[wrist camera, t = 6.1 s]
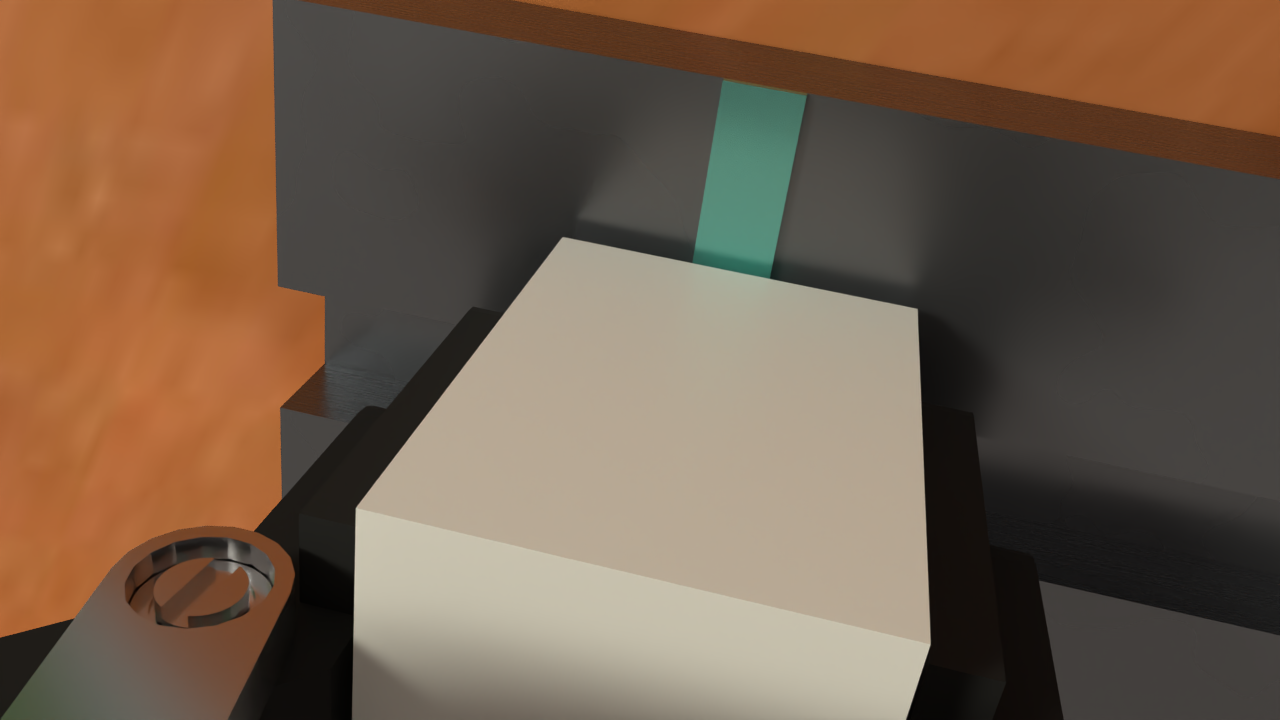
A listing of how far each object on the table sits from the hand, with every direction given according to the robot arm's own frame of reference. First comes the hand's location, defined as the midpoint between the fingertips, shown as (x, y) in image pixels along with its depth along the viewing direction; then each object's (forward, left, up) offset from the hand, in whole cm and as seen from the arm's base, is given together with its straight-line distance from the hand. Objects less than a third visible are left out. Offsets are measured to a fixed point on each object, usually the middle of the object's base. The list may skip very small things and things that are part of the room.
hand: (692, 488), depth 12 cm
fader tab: (0, 0, -2) cm, 2 cm away
